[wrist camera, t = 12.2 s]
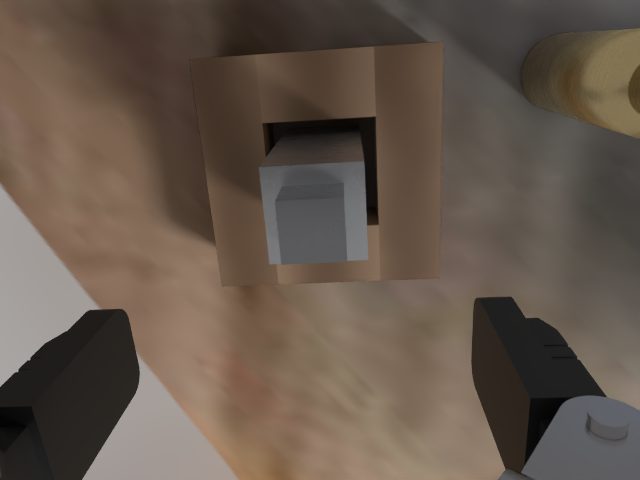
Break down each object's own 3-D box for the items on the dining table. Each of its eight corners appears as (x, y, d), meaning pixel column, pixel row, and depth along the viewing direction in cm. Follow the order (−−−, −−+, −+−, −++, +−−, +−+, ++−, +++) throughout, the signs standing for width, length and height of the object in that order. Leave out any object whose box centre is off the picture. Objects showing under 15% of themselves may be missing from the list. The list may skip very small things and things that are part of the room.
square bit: (358, 124, 29) (366, 173, 17) (361, 193, 30) (370, 281, 19) (287, 128, 29) (249, 179, 18) (293, 197, 30) (261, 285, 19)
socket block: (429, 42, 28) (443, 41, 24) (427, 248, 32) (439, 278, 28) (212, 57, 29) (188, 59, 25) (237, 255, 33) (221, 286, 29)
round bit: (600, 30, 27) (775, 18, 16) (591, 107, 29) (747, 146, 18) (523, 36, 28) (643, 28, 16) (518, 112, 29) (625, 153, 18)
